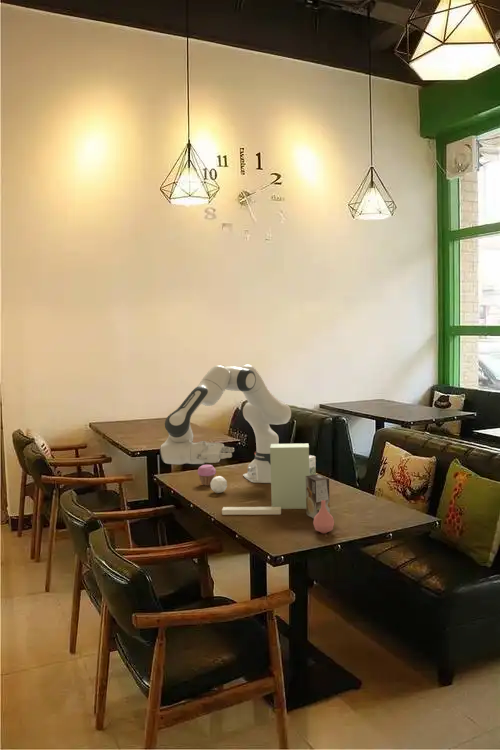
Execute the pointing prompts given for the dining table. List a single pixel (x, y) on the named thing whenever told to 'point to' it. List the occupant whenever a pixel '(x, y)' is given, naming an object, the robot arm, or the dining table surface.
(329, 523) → the pink vase
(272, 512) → the domino bar
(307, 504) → the coffee box
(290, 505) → the shelf block
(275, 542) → the dining table surface
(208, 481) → the cupcake
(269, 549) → the dining table surface
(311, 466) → the syrup box
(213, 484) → the geometric ball
